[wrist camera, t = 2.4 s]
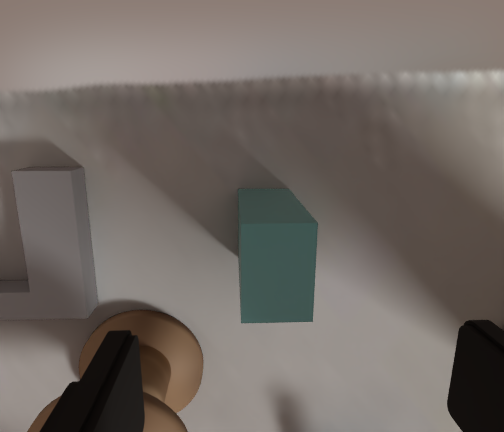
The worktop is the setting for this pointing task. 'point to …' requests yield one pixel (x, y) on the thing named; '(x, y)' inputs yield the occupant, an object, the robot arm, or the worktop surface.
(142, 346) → the door knob
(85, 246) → the notched board
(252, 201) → the teal tab
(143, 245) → the worktop surface
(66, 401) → the robot arm
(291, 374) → the worktop surface
